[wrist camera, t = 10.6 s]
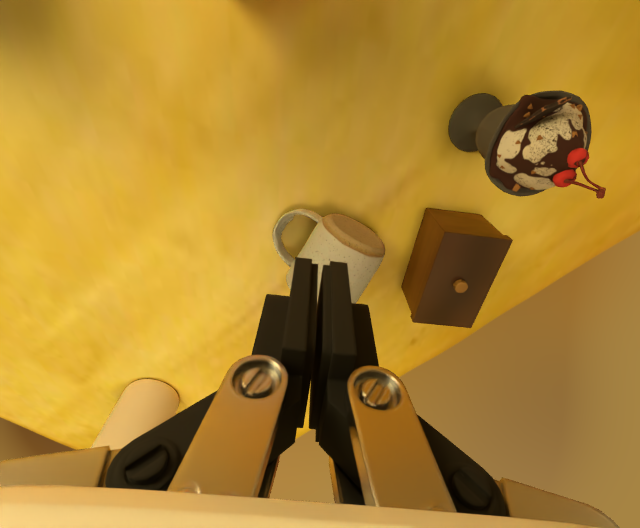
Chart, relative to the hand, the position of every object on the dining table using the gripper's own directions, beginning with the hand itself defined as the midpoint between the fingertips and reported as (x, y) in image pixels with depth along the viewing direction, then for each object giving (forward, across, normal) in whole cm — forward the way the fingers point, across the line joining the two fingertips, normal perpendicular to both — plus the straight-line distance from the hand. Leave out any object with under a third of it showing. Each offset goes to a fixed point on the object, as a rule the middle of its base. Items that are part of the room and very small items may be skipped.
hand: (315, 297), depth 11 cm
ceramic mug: (+24, -1, +10) cm, 26 cm away
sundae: (+24, -14, -3) cm, 28 cm away
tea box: (+24, -14, +10) cm, 30 cm away
